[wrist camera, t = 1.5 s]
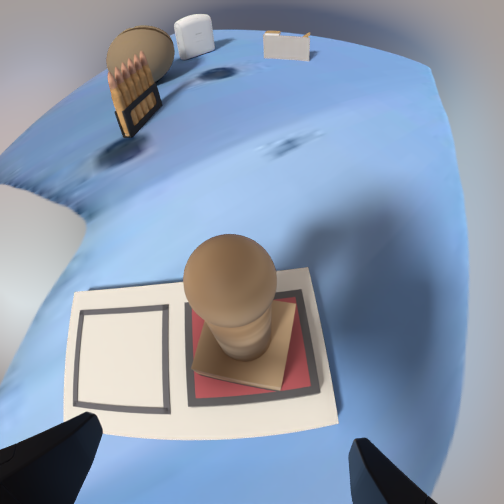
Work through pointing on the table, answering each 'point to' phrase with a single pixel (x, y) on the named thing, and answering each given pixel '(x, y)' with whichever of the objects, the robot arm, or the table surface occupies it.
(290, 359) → the ink pad
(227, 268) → the stamp
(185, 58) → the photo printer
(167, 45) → the brown grooved ball
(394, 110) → the table surface
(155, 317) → the stamping board
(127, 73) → the ammunition clip
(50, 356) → the table surface
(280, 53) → the model
